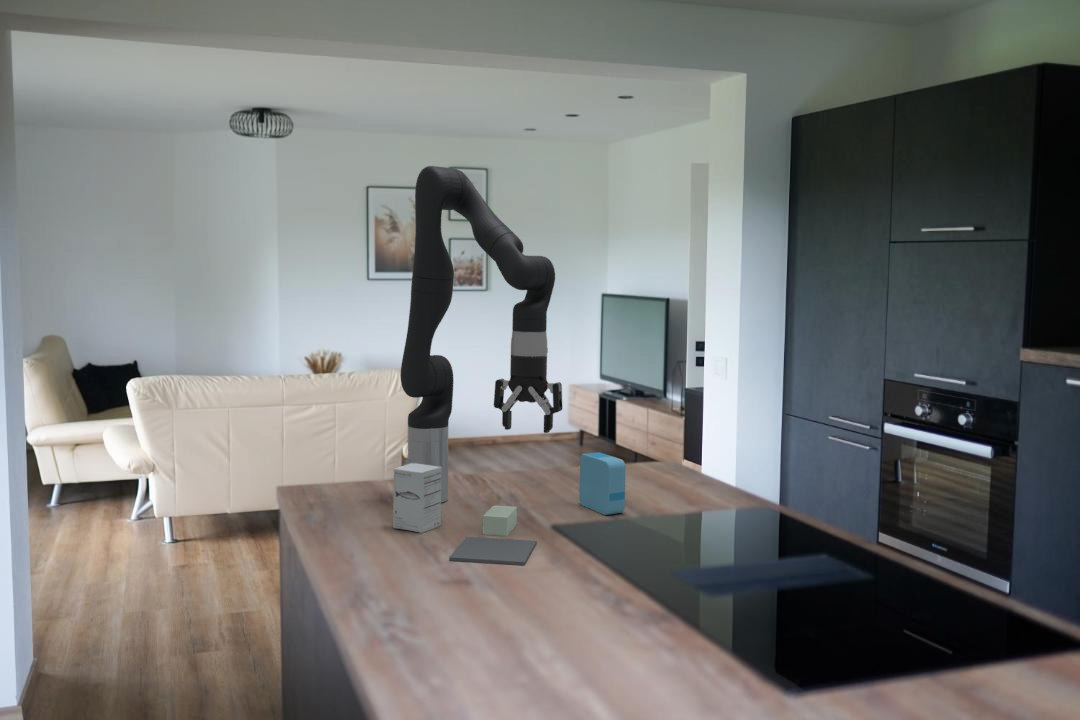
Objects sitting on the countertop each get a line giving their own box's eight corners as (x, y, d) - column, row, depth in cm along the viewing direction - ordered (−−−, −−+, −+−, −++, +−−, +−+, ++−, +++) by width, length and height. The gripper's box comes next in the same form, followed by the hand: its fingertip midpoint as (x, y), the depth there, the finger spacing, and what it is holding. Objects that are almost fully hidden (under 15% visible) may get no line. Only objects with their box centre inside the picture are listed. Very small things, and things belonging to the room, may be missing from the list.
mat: (449, 560, 181) (449, 557, 181) (466, 539, 195) (466, 536, 195) (524, 565, 179) (524, 562, 179) (536, 543, 193) (536, 540, 193)
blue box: (625, 514, 217) (626, 460, 215) (607, 516, 214) (609, 462, 213) (595, 502, 227) (596, 451, 226) (578, 504, 225) (579, 452, 224)
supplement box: (391, 528, 202) (391, 468, 201) (412, 520, 208) (413, 461, 207) (421, 533, 198) (422, 472, 197) (442, 525, 205) (442, 465, 204)
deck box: (482, 535, 199) (483, 515, 199) (493, 524, 208) (493, 505, 207) (507, 537, 198) (507, 517, 198) (516, 525, 207) (516, 506, 206)
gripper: (490, 352, 202) (488, 431, 203) (556, 356, 197) (554, 436, 199) (502, 349, 209) (501, 425, 210) (567, 353, 204) (565, 430, 206)
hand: (527, 430), depth 205 cm, fingers open, 8 cm apart
